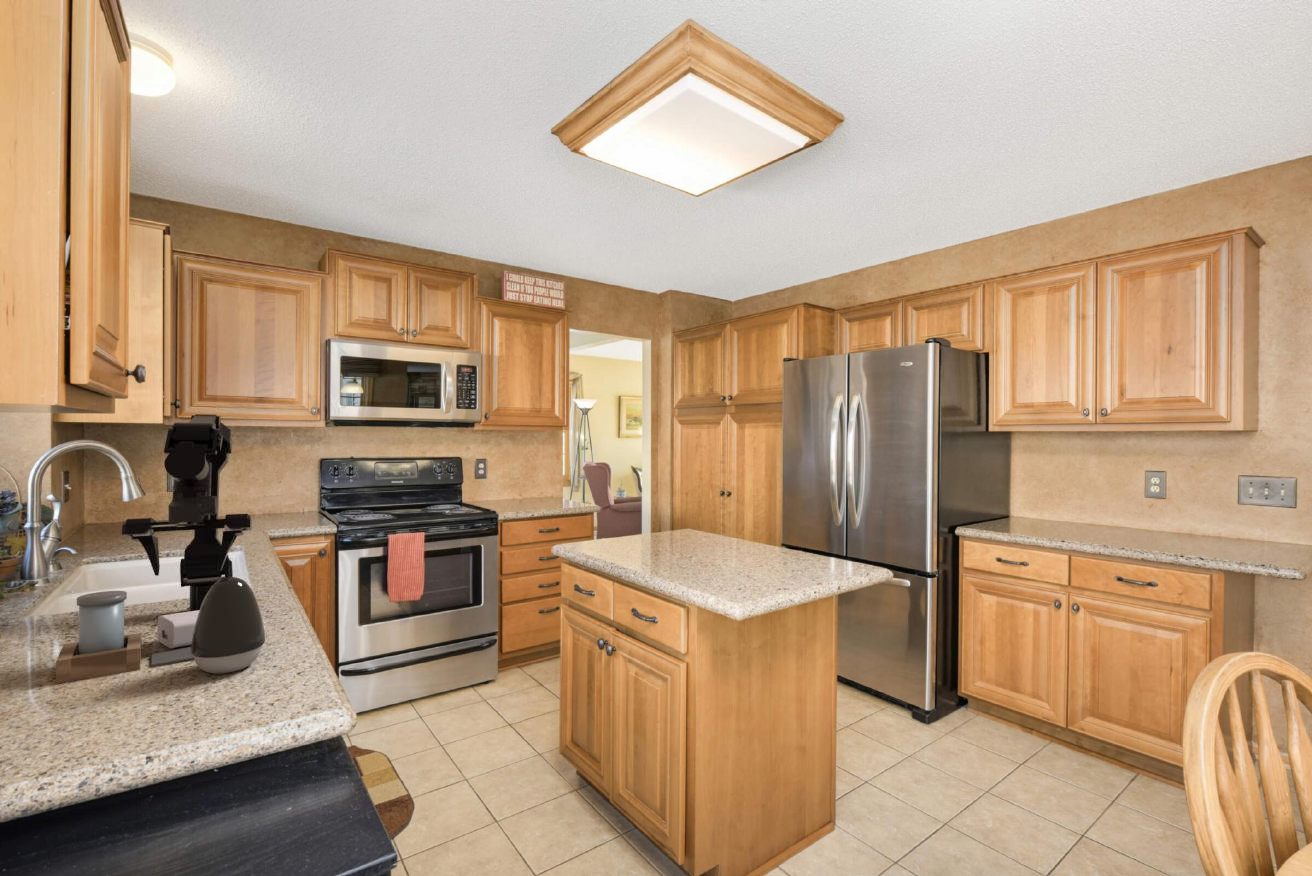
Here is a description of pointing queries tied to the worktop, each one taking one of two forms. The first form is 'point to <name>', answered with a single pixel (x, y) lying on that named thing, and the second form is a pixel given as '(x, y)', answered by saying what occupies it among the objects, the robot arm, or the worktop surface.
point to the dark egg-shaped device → (228, 628)
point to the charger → (176, 628)
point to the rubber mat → (171, 656)
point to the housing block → (98, 660)
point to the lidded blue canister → (101, 621)
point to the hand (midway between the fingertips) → (188, 572)
